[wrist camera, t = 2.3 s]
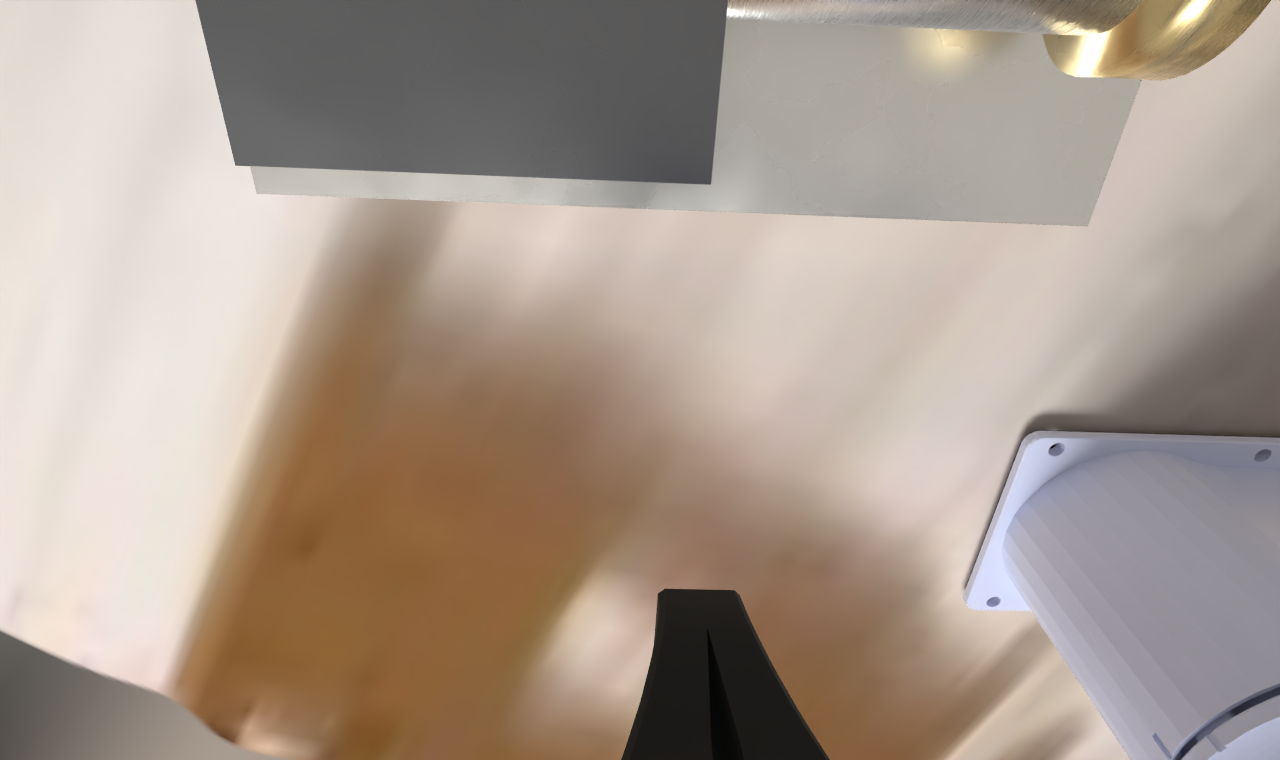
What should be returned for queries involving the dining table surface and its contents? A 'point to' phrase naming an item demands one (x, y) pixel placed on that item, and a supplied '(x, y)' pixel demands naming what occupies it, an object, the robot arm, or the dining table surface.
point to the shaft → (1054, 27)
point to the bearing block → (657, 109)
